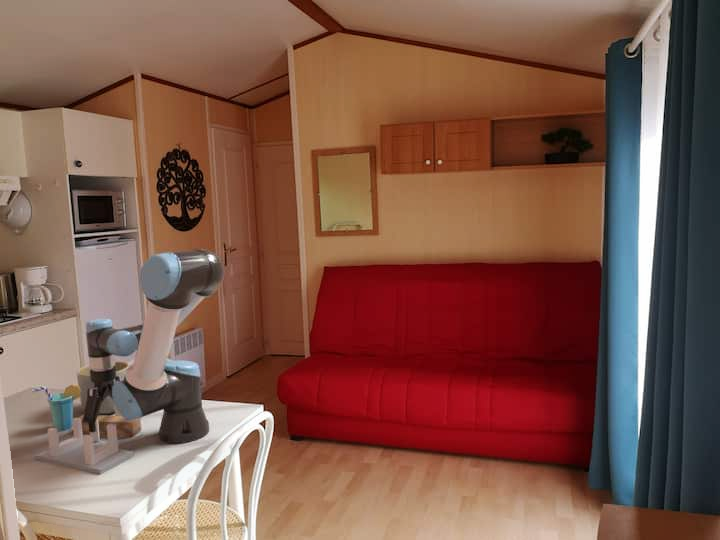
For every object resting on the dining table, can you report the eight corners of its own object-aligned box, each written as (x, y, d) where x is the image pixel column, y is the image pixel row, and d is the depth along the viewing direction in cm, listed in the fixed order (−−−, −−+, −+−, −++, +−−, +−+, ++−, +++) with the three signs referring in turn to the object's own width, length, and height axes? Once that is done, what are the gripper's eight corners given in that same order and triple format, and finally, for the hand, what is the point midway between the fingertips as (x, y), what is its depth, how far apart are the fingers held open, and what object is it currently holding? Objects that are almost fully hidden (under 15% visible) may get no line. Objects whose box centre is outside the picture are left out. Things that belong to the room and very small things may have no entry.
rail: (141, 431, 187) (140, 416, 187) (133, 437, 182) (131, 422, 182) (84, 429, 190) (83, 414, 190) (75, 435, 186) (73, 420, 185)
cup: (36, 437, 184) (31, 391, 182) (36, 429, 191) (31, 385, 189) (85, 427, 191) (81, 383, 189) (83, 420, 198) (79, 377, 196)
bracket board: (134, 455, 169) (131, 425, 168) (100, 474, 158) (97, 441, 157) (70, 442, 179) (67, 414, 178) (35, 459, 169) (31, 428, 167)
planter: (79, 407, 210) (75, 366, 208) (129, 398, 218) (125, 358, 216) (81, 422, 196) (77, 378, 194) (135, 412, 203) (131, 370, 201)
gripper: (114, 356, 197) (119, 416, 199) (66, 380, 172) (72, 448, 175) (134, 356, 195) (139, 417, 198) (89, 380, 171) (95, 449, 174)
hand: (108, 432), depth 187 cm, fingers open, 13 cm apart
